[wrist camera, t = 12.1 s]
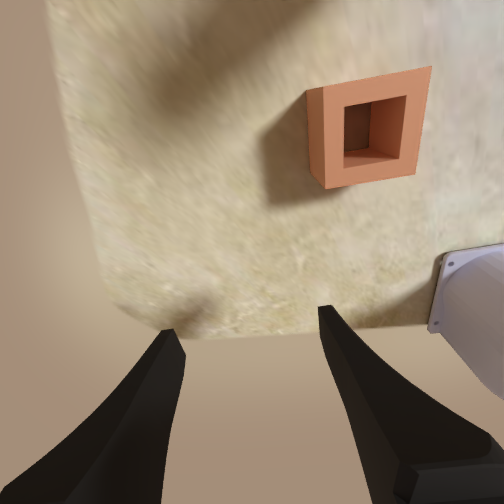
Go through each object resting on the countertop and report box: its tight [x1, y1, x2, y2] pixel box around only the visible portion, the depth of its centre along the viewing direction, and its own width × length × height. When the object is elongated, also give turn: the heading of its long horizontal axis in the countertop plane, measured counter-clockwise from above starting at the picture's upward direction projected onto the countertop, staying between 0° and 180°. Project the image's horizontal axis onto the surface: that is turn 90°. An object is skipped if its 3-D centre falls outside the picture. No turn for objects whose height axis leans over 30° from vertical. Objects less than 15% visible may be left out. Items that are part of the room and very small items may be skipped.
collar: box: [306, 66, 432, 189], centre depth 15 cm, size 5×5×4 cm
